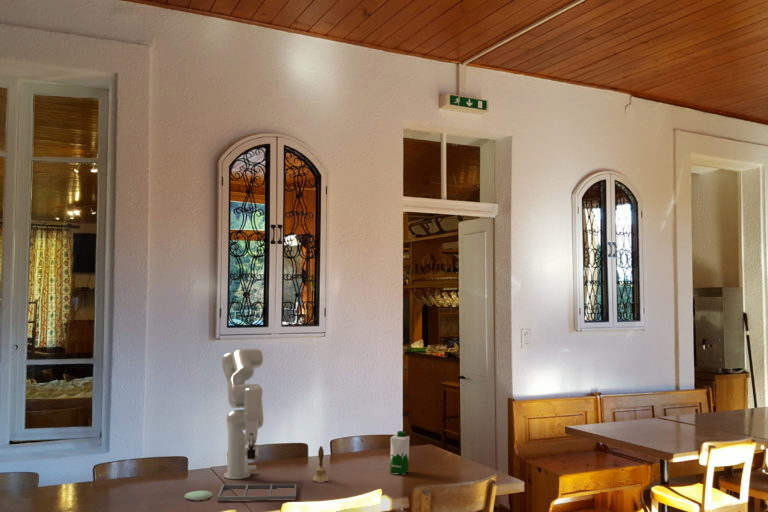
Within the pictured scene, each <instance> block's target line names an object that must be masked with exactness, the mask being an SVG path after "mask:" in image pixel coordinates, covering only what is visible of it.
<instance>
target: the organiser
mask: <svg viewBox="0 0 768 512" xmlns="http://www.w3.org/2000/svg"><path fill="white" fill-rule="evenodd" d="M277 488H294V495H287V496H271V494H272V489H277ZM230 489H245V492H244V495H243V496H221V495H222V493H223V491H226V490H230ZM248 489H270V492H269V496H246V495H247V491H248ZM268 499H296V500H297V483H259V484H257V483H255V484H254V483H251V484H246V483H245V484H244V483H243V484H242V483H241V484H222V485H221V487H220V489H219V491H218V495H217V500H216V502H217V501H230V500H238V501H239V500H268Z"/></svg>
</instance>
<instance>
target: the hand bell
mask: <svg viewBox="0 0 768 512" xmlns="http://www.w3.org/2000/svg"><path fill="white" fill-rule="evenodd" d="M324 455H325V454H324V449H323V446H319V448H318V455H317V456H318V460H319V463H318V464H319V466H318V468H316V470H315V475H314V476H313V478H312V479H313V480H315V481H325V480H329V479H330V478H329V477H328V474H327V471H326V470H327V469H326V468H325V467H324V465H323V460H324ZM329 481H330V480H329Z"/></svg>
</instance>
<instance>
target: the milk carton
mask: <svg viewBox="0 0 768 512" xmlns="http://www.w3.org/2000/svg"><path fill="white" fill-rule="evenodd" d="M396 433H397V434H395V435H392V436H391V437H390V439H389V441H390V460H389V461H390V466H389V467H390V468H389V469H390V470H389V471H390V472H389V473H398V474H404V473H406V472H407V471H408V472H409V468H410V466H409V465H410V463H409V462H410V439H411V438H410V435H406V431H404V430H399V431H397V432H396ZM406 474H407V473H406Z"/></svg>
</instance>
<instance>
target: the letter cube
mask: <svg viewBox="0 0 768 512" xmlns="http://www.w3.org/2000/svg"><path fill="white" fill-rule="evenodd" d="M254 449H255V459H247V453H248V445H246V446H245V461H246V460H248V461H258V459H259V444H255V448H254Z"/></svg>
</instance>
